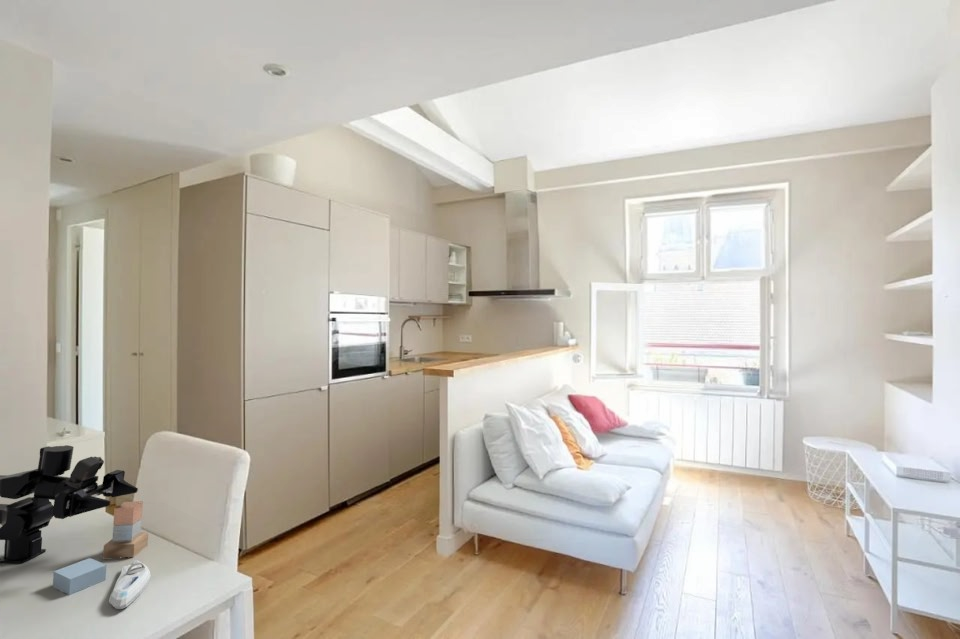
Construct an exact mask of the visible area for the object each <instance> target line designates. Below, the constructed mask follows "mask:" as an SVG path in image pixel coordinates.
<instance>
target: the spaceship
mask: <svg viewBox="0 0 960 639" xmlns="http://www.w3.org/2000/svg"><path fill="white" fill-rule="evenodd" d="M120 568H121V569H120V574H119V576H118V578H117V580H116V582H115V585H114V587H113V590H112V591H111V594H110V595H109V599H108V603H110V605H111V606H112V607H114V608H115V609H116V610H123V609H125V608H127V607H128V606H129V605H130V604H132V603H133V602H134V601H135V600H136V599H137V598H139V596H140V595H141V593H142V592H143V591H144V590H145V589H146V587H147V586H148V584H149V583H150V581H151V576H152V575H151V572H150V569H149V567H148V566H147V565H146V564H144V563H143V562H141V561H140V560H138V559H134V560H133V563H131V564H129V565H127V564H126V565H124V566H121V567H120Z"/></svg>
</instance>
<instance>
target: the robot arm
mask: <svg viewBox="0 0 960 639" xmlns="http://www.w3.org/2000/svg"><path fill="white" fill-rule="evenodd" d="M73 452H74V446H73V445H56V446H49V445H48V446H45V447H44V446H43V447H40V449H39V460H38V466H37V468H35V469H31V470H26V471H22V472H18V473H14V474H13V473H12V474H7V475H4V474H3V475H0V497H1V498H3V499H4V498H5V499H9V500H11V499H12V500H18V499H20V500H18V501H16V502H12V503H9V504H8V503H7V504H6V503H0V525H1V527H0V541H4V551H3V552H4V553H3V557H0V563H4V564H5V563H6V564H9V563H10V564H23V563H25V562H27V561H29V560H31V559H34V558H36V557H38V556H39V555H42V554H43V553H45V552H46V550H47V549H46V548H42V544H43V537H42V530H41V529H43V528H46V527H48V526H49V524H50V521H51V520H52V519H53V517H54V519H60V520H64V519H66V518H69V517H70V518H71V517H73V516H76V515H81V514H84V513H87V512H91V511H95V510H99V509H102V508H106V507H109V506H111V500H108V499H104V498H101V497H99V496H100V495H102V497H107V498H108V497H111V498H116V497H121V496H126V495H131V494H136V493H138V491H139V488H138V487H136V486H134V485H133V484H131V483H129V482H128V481H127V480H125V476H126V475H125V474H126V471H125V470H122V469H121V470H120V469H116V470H113V471H111V472H108V473H106V474H105V475H104V476H103V480H102V484H98V481H99V476H98V475H97V473H98V471H99V470H100V469H102V467H103V465H104V462H105V461H104V459H102V457H101V456H90V457H86V458H83V459H81V460H79V461H77V463H76V464H75V465H74V467H73V470H72V471H71V473H70V476H62V475H64V474H65V473H66V472H67V471H70V470H71V464H72V459H73V454H74V453H73ZM31 494H33V497H30V496H29V495H31ZM26 496H29V497H26ZM24 497H26V498H24ZM21 498H22V499H21ZM50 500H51V501H53V504H52V502H51V501H50Z"/></svg>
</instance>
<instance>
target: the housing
mask: <svg viewBox="0 0 960 639" xmlns="http://www.w3.org/2000/svg"><path fill="white" fill-rule="evenodd" d="M143 502H144V501H139V500H138V501H123V502H122V503H121V504H119V505H118V506H115V507H114V509H113V511H114V512H113V525H112V526H113V527H112V539H111V540H112V543H123V542H132V541H134V540H135V539H136V538H137V537H138V536H140V535H141V533H142V520H143V519H142V518H143V506H144V505H143V504H144V503H143Z"/></svg>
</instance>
